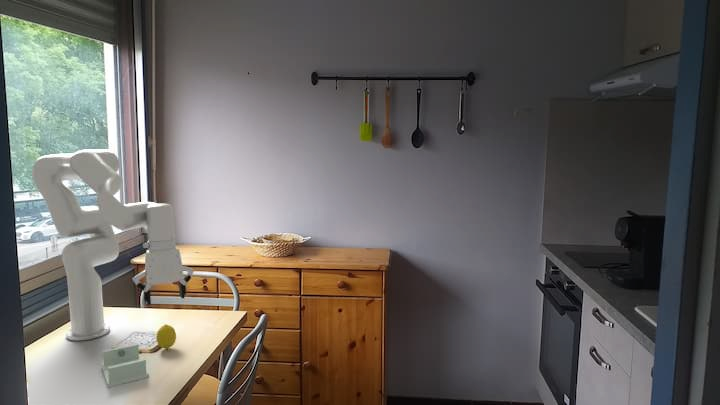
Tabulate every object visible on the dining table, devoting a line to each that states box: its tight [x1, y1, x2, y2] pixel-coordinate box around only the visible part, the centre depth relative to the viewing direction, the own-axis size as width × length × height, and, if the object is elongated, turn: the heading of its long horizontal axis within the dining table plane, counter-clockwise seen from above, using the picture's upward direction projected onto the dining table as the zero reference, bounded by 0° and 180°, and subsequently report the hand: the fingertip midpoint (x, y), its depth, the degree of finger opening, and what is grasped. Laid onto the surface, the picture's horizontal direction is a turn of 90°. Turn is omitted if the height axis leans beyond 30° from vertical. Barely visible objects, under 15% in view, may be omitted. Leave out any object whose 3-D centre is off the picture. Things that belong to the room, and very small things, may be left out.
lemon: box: [156, 323, 177, 350], centre depth 146 cm, size 6×6×8 cm
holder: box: [101, 343, 150, 388], centre depth 132 cm, size 13×10×5 cm
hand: (165, 300), depth 145 cm, fingers open, 9 cm apart
